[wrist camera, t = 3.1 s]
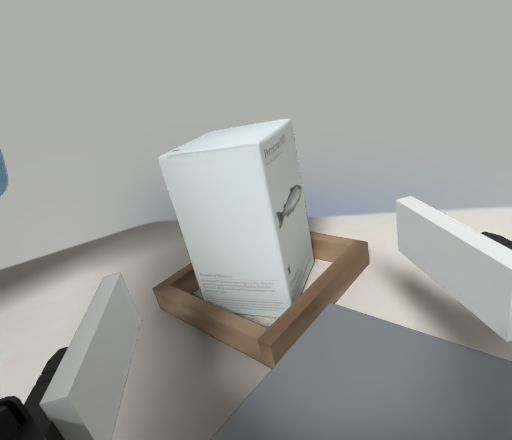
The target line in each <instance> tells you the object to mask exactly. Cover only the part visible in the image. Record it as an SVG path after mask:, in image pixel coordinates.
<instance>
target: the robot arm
mask: <svg viewBox="0 0 512 440" xmlns="http://www.w3.org/2000/svg"><path fill="white" fill-rule="evenodd" d="M7 186H8V175H7V170H6V166H5V163H4V159H3V156H2V153H1V150H0V196H1V195H2V194H3V193H4V192H5V191H6V189H7ZM396 215H397V232H398V250H399V251H400V252H401V253H402V254H403V255H405V256H406V257H407V258H408V259H409V260H410V261H412V262H413V263H414V264H415V265H416V266H418V267H419V268H420V269H421V270H422V271H423V272H425V273H426V274H427V275H428V276H429V277H431V278H432V279H433V280H434V281H435V282H436V283H438V284H439V285H440V286H441V287H442V288H444V289H445V290H446V291H447V292H448V293H449V294H451V295H452V296H453V297H454V298H455V299H457V300H458V301H459V302H460V303H461V304H462V305H464V306H465V307H466V308H467V309H468V310H470V311H471V312H472V313H473V314H474V315H475V316H477V317H478V318H479V319H480V320H481V321H483V322H484V323H485V324H486V325H487V326H489V327H490V328H491V329H492V330H493V331H494V332H496V333H497V334H498V335H499V336H500V337H502V338H503V339H504V340H505V341H506V342H509V341H512V241H510V240H508V239H506V238H504V237H502V236H500V235H496V234H492V233H488V232H482V233H479V232H477V231H475V230H474V229H472V228H470V227H468V226H466V225H464V224H462V223H460V222H459V221H457V220H455V219H453V218H451V217H449V216H447V215H446V214H444V213H442V212H440V211H438V210H436V209H434V208H432V207H431V206H428V205H427V204H425V203H423V202H421V201H419V200H417V199H416V198H414V197H412V196H409V197H405V198H401V199H398V200H396ZM141 321H142V320H141V318H140V316H139V314H138V311H137V309H136V307H135V304H134V302H133V300H132V298H131V295H130V293H129V291H128V289H127V286H126V284H125V282H124V279H123V277H122V275H121V273H118V274H114V275H110V276H106V277H104V278H103V280H102V282H101V284H100V286H99V288H98V290H97V291H96V293H95V295H94V297H93V299H92V301H91V303H90V305H89V307H88V309H87V311H86V313H85V315H84V317H83V319H82V321H81V323H80V325H79V327H78V329H77V331H76V333H75V335H74V337H73V339H72V341H71V343H70V345H69V347H65V348H62V349H59V350H58V351H57V352H56V353H55V354H54V355H53V356H52V357H51V359H50V360H49V361H48V362H47V364H46V366H45V367H44V369H43V371H42V373H41V374H42V375H41V376H40V377H39V378H38V380H37V382H36V385H35V386H34V387H33V389H32V391H31V393H30V395H29V396H28V398H27V400H26V402H25V404H24V405H23V403H22V402H21V401H20V399H19V398H17V397H15V396H8V397H5V398H2V399H0V440H111V439H112V435H113V431H114V427H115V423H116V419H117V415H118V411H119V407H120V403H121V400H122V396H123V392H124V388H125V384H126V380H127V376H128V372H129V368H130V364H131V360H132V356H133V352H134V348H135V344H136V341H137V337H138V333H139V329H140V325H141Z"/></svg>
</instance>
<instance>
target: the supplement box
mask: <svg viewBox="0 0 512 440" xmlns="http://www.w3.org/2000/svg"><path fill="white" fill-rule="evenodd" d="M158 161H159V164H160V168H161V171H162V174H163V177H164V180H165V183H166V186H167V189H168V192H169V195H170V198H171V201H172V204H173V207H174V211H175V214H176V217H177V220H178V223H179V226H180V229H181V232H182V235H183V238H184V241H185V244H186V247H187V250H188V253H189V256H190V259H191V263H192V266H193V269H194V272H195V275H196V278H197V281H198V284H199V287H200V290H201V293H202V296H203V299H204V300H205V301H207V302H209V303H211V304H214V305H216V306H218V307H220V308H223V309H225V310H227V311H229V312H232V313H239V314H249V315H261V316H272V317H280V316H281V315H282V314H283V313H284V312H285V311H286V310H287V309H288V308H289V307H290V306H291V305H292V304H293V303H294V302H295V301H296V300H297V299H298V298H299V297H300V295H301V292H302V290H303V287H304V285H305V282H306V280H307V277H308V275H309V273H310V270H311V268H312V266H313V264H314V257H313V251H312V245H311V238H310V231H309V225H308V219H307V213H306V206H305V201H304V194H303V187H302V181H301V176H300V169H299V163H298V158H297V151H296V145H295V138H294V133H293V127H292V120H291V119H282V120H275V121H269V122H263V123H257V124H251V125H245V126H239V127H234V128H228V129H222V130H217V131H212V132H209V133H207V134H205V135H203V136H201V137H199V138H196V139H195V140H192V141H190V142H188V143H186V144H184V145H182V146H180V147H178V148H176V149H173V150H171V151H170V152H167V153H165V154H163V155H162V156H160V157H158Z"/></svg>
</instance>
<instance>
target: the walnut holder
mask: <svg viewBox="0 0 512 440" xmlns="http://www.w3.org/2000/svg"><path fill="white" fill-rule="evenodd" d="M310 238H311V245H312V251H313V257H314V258H317V259H322V260H326V261H330V262H333V263H332V264H331V265H330V266H329V267H328V268H327V269H326V270H325V271H324V273H323V274H322V275H321V276H320V277H319V278H318V279H317V280H316V281H315V282H314V283H313V284H312V285H311V286H310V287H309V288H308V289H307V290H306V291H305V292H304V293H303V294H302V295H301V296H300V297H299V298H298V299H297V300H296V301H295V302H294V303H293V304H292V305H291V306H290V307H289V308H288V309H287V310H286V311H285V312H284V313H283V314H282V315H281V316H280V317H279V318H278V319H277V320H276V321H275V322H274V323H273V324H272V325H271V326H270V327H269V328H268V329H267V328H265V327H263V326H261V325H258V324H256V323H254V322H252V321H249V320H247V319H245V318H243V317H240V316H238V315H236V314H234V313H232V312H229V311H227V310H225V309H223V308H220V307H218V306H216V305H214V304H211V303H209V302H207V301H205V300H202V299H200V298H198V297H196V296H193V295H191V294H192V293H193V292H195V291H196V290H197V289H199V288H200V287H199V284H198V281H197V278H196V275H195V272H194V269H193V266H192V263H190V264H189V265H187V266H186V267H184V268H183V269H181V270H180V271H178V272H177V273H175V274H174V275H172V276H171V277H169V278H168V279H166V280H165V281H163V282H162V283H160V284H159V285H157V286H156V287H154V288H153V291H154V293H155V296H156V298H157V301H158V303H159V306H160V308H161V309H163V310H165V311H167V312H169V313H170V314H172V315H174V316H176V317H178V318H180V319H181V320H183V321H185V322H187V323H189V324H191V325H193V326H194V327H196V328H198V329H200V330H202V331H204V332H205V333H207V334H209V335H211V336H213V337H215V338H216V339H218V340H220V341H222V342H224V343H226V344H228V345H229V346H231V347H233V348H235V349H237V350H239V351H240V352H242V353H244V354H246V355H248V356H250V357H252V358H253V359H255V360H257V361H259V362H261V363H263V364H264V365H266V366H268V367H270V368H272V369H273V368H274V366H275V365H276V364H277V363H278V362H279V361H280V360H281V358H282V357H283V356H284V355H285V354H286V353H287V351H288V350H289V349H290V348H291V347H292V346H293V345H294V343H295V342H296V341H297V340H298V339H299V338H300V337H301V335H302V334H303V333H304V332H305V331H306V330H307V329H308V327H309V326H310V325H311V324H312V323H313V322H314V321H315V319H316V318H317V317H318V316H319V315H320V314H321V313H322V311H323V310H324V309H325V308H326V307H327V306H328V305H329V303H333V304H335V303H336V301H337V300H338V299H339V298H340V297H341V296H342V294H343V293H344V292H345V291H346V290H347V289H348V287H349V286H350V285H351V284H352V283H353V282H354V280H355V279H356V278H357V277H358V276H359V275H360V273H361V272H362V271H363V270H364V269H365V268H366V266H367V265H368V264H369V253H368V242H365V241H359V240H354V239H348V238H343V237H337V236H331V235H326V234H320V233H314V232H310Z"/></svg>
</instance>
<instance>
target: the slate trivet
mask: <svg viewBox="0 0 512 440" xmlns="http://www.w3.org/2000/svg"><path fill="white" fill-rule="evenodd" d="M211 440H512V362H511V361H508V360H505V359H501V358H498V357H495V356H492V355H489V354H486V353H483V352H480V351H477V350H474V349H471V348H468V347H465V346H462V345H459V344H455V343H452V342H449V341H446V340H443V339H440V338H437V337H434V336H431V335H428V334H425V333H422V332H419V331H416V330H413V329H409V328H406V327H403V326H400V325H397V324H394V323H391V322H388V321H385V320H382V319H379V318H376V317H373V316H370V315H367V314H363V313H360V312H357V311H354V310H351V309H348V308H345V307H342V306H339V305H336V304H333V303H329V305H328V306H327V307H326V308H325V309H324V310H323V311H322V313H321V314H320V315H319V316H318V317H317V318H316V319H315V321H314V322H313V323H312V324H311V325H310V326H309V327H308V329H307V330H306V331H305V332H304V333H303V334H302V335H301V337H300V338H299V339H298V340H297V341H296V342H295V343H294V345H293V346H292V347H291V348H290V349H289V350H288V351H287V353H286V354H285V355H284V356H283V357H282V358H281V360H280V361H279V362H278V363H277V364H276V365H275V366H274V368H273V369H272V370H271V371H270V372H269V373H268V374H267V376H266V377H265V378H264V379H263V380H262V381H261V382H260V384H259V385H258V386H257V387H256V388H255V389H254V390H253V392H252V393H251V394H250V395H249V396H248V397H247V398H246V400H245V401H244V402H243V403H242V404H241V405H240V406H239V408H238V409H237V410H236V411H235V412H234V413H233V414H232V416H231V417H230V418H229V419H228V420H227V421H226V422H225V424H224V425H223V426H222V427H221V428H220V429H219V430H218V432H217V433H216V434H215V435H214V436H213V437H212V438H211Z"/></svg>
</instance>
